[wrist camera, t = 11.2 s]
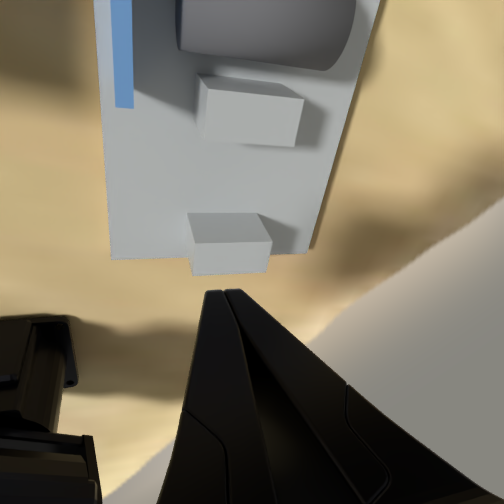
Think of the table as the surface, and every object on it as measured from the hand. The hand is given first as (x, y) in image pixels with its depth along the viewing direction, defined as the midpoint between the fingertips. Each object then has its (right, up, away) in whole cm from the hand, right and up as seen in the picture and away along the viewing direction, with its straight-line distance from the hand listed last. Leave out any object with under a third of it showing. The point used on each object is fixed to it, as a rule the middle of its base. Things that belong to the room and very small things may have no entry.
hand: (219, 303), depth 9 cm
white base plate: (0, +9, +9) cm, 13 cm away
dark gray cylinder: (+1, +11, +7) cm, 13 cm away
